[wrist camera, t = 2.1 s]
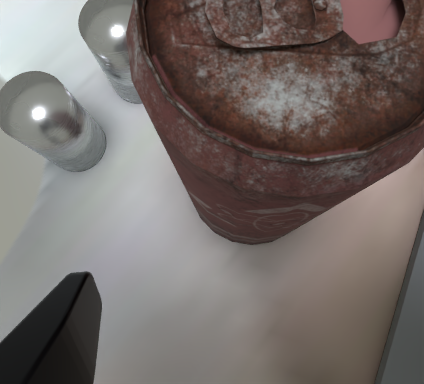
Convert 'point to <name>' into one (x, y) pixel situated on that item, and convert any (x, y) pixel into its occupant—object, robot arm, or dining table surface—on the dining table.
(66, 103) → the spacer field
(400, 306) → the mat
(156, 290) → the dining table surface
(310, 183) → the can
